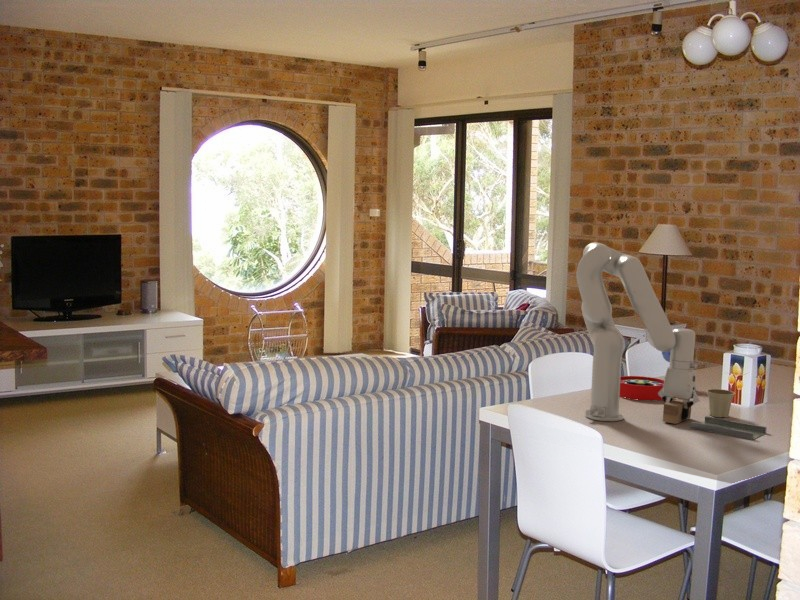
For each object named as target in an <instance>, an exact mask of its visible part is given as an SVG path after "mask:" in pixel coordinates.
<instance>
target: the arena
mask: <svg viewBox="0 0 800 600" xmlns="http://www.w3.org/2000/svg"><path fill="white" fill-rule="evenodd" d="M690 424H691V425H690V428H691V429H693V430H698V431H704V432H709V433H713V434H714V433H715V434H719V435H724V436H730V437H735V438H739V439H740V438H741V439H745V440H746V439H747V440H751V441H753V440H755V439H758V438H760V437H761V436H763V435H765V434H767V426H764V425H759V424H758V425H756V424H751V423H746V422H741V421H737V420H736V421H735V420H730V419H725V418H724V419H723V418H720V417H714V416H712V417H711V416H707V415H706V416H705V417H704V421H703V422H696V421H691V423H690Z"/></svg>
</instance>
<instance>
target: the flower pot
mask: <svg viewBox="0 0 800 600" xmlns="http://www.w3.org/2000/svg"><path fill="white" fill-rule="evenodd" d="M706 393H707V397H708V408H709V415H710V416H712V417H713V418H722V417H723V418H728V417H729V415H730V414H729V413H730V411H731V406H732V401H733V399H734V396H735V394H736V393H735V391H732V390H728V389H718V388H711V389H710V388H709V389H707V390H706Z"/></svg>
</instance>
